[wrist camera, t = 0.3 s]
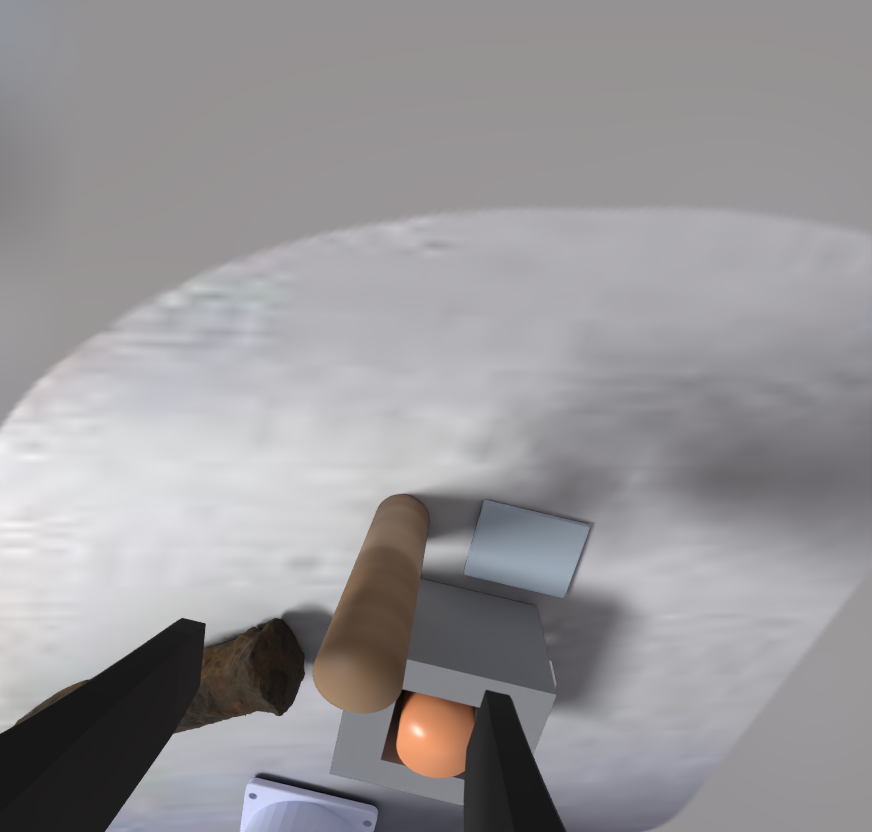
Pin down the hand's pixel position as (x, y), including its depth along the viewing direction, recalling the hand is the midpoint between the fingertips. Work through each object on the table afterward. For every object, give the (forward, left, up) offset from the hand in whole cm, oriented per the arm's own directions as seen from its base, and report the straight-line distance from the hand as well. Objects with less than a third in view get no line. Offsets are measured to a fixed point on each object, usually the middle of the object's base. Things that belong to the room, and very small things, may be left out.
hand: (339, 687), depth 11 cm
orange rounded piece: (-7, -4, -7) cm, 11 cm away
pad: (-1, -6, -10) cm, 12 cm away
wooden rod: (-1, 0, -10) cm, 10 cm away
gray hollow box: (-7, -4, -10) cm, 13 cm away
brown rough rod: (-15, +11, -11) cm, 22 cm away
